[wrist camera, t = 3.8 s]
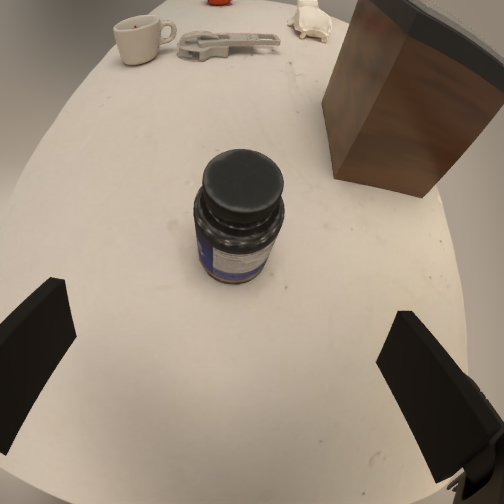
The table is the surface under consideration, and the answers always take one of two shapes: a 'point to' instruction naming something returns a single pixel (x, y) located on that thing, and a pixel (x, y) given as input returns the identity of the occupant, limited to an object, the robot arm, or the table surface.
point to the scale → (446, 36)
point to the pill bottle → (238, 214)
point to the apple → (219, 2)
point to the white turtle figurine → (311, 20)
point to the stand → (400, 107)
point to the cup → (141, 38)
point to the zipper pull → (217, 44)
